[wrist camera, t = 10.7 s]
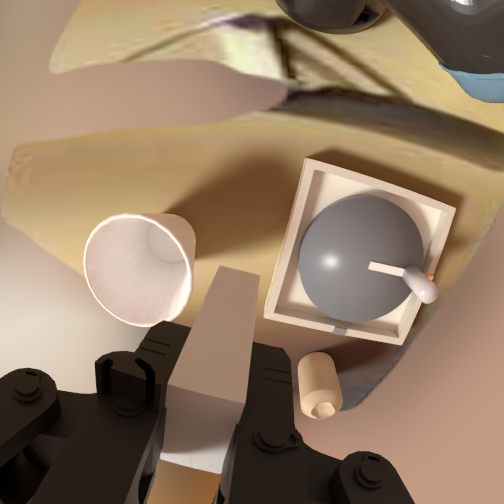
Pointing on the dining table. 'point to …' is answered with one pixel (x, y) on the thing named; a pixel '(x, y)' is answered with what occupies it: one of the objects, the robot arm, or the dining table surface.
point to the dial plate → (302, 213)
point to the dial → (362, 259)
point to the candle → (319, 386)
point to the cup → (141, 266)
